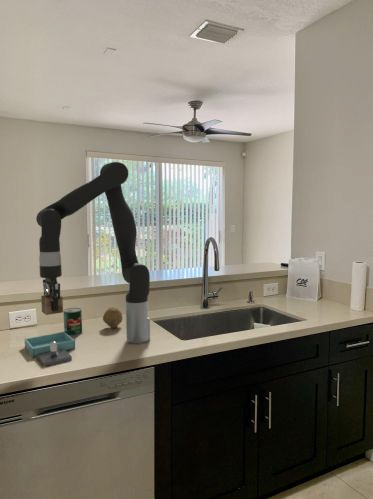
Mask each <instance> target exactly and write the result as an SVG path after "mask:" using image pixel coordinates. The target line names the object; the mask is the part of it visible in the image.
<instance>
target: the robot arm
mask: <svg viewBox="0 0 373 499" xmlns="http://www.w3.org/2000/svg"><path fill="white" fill-rule="evenodd" d="M128 178H129V169H128V167H127V165H126V164H124V163H123V162H120V161H112V162H108V163H105V164H104V165H102V167H101V168H100V170H99V175H98V176H96V177H95V178H93V179H92V180H90V181H88V182H87V183H85V184H83V185H81V186H78V187H77V188H75V189H74V190H71V191H70V192H69V193H67V194H65V195H64V196H62V197H61V198H60V199H59V200H57V201H55V202H54V203H51V204H50V205H47V206H46V207H44V208H43V209H40V210H39V212H38V213H37V214H36V217H35V218H36V223H37V224H38V226H39V227H41V228H40V229H41V232H40V233H41V234H40V235H41V236H40V237H39V239H38V242H39V257H38V262H39V263H38V264H39V266H38V267H39V277H40V278H41V279H42V286H43V295H50V297H51V310H52V311H58V300H60V295H61V283H59V282H58V280H57V278H59V277H62V274H63V273H62V272H63V270H62V255H61V241H60V237H61V233H62V232H61V230H62V220H64V218H67V217H69V216H72V215H74V214H76V212H78V211H79V210H81V209H82V208H84V207H85V206H87V205H88V204H90V203H91V202H92V201H94V199H96V198H97V197H99V196H101V195H102V194H104V193H105V197H106V201H107V205H108V210H109V214H110V218H111V225H112V230H113V233H114V236H115V240H116V244H117V249H118V253H119V258H120V266H121V267H120V268H121V274H122V278H123V280H124V281H125V282H127V283H128V284H129V290H128V293H126V295H125V321H126V322H125V324H126V327H125V328H126V332H125V334H126V335H125V336H126V342H127V343H130V344H134V345H135V344H143V343H146V342H148V341H149V340H151V319H150V317H149V307H148V306H149V303H148V302H149V301H148V299H149V298H148V297H149V294H150V287H151V286H150V280H151V279H150V278H151V277H150V270H149V269H148V266H146V265H144V264H143V263H139V260H138V257H137V256H138V255H137V253H136V242H137V236H138V235H137V234H138V232H137V225H136V221H135V220H136V219H135V216H134V213H133V212H132V210H131V208H130V206H129V205H128V202H127V201H126V198H125V196H124V194H123V193H124V192H123V188H122V185H123V184H125V182H126V181H127V180H128ZM55 295H56V297H55Z"/></svg>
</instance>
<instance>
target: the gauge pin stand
mask: <svg viewBox="0 0 373 499" xmlns="http://www.w3.org/2000/svg"><path fill="white" fill-rule="evenodd" d="M36 359H37V360H38V361H39V363H40V364H41V366H42V367H43V368H45V367H48V365H49V366H52V365H53V364H54V365H57V364H61V363H65V362H70V361H72V360H73V357H72V355H71V353H69V352H68V350H67V351H65V350H64V349H59V350H57V343H56V342H51V344H50V351H49V352H45V353H40V354H37V357H36Z"/></svg>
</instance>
